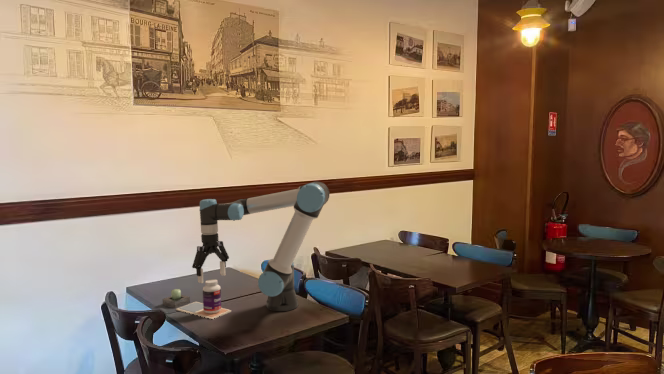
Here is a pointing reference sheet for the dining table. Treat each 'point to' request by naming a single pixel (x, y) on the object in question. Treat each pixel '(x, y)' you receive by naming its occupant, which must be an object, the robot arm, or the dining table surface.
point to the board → (201, 310)
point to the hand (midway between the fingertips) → (212, 278)
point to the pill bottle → (211, 297)
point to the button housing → (176, 301)
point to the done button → (176, 294)
